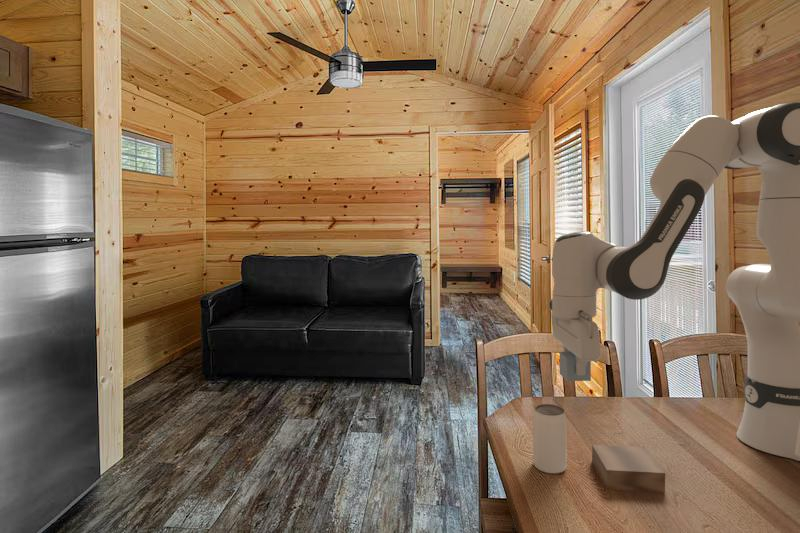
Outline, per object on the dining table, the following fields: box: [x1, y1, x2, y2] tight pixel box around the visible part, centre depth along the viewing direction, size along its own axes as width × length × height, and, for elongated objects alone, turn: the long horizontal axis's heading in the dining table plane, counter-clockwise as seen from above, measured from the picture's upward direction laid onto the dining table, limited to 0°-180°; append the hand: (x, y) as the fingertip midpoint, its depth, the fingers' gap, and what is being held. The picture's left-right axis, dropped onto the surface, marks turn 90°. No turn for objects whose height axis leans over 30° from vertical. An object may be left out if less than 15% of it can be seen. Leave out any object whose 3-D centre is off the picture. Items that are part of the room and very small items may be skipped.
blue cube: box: [559, 351, 592, 382], centre depth 98 cm, size 5×5×5 cm
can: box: [532, 403, 568, 475], centre depth 91 cm, size 6×6×12 cm
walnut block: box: [591, 444, 666, 493], centre depth 87 cm, size 10×10×4 cm
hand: (574, 369), depth 98 cm, fingers closed on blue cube, 5 cm apart
